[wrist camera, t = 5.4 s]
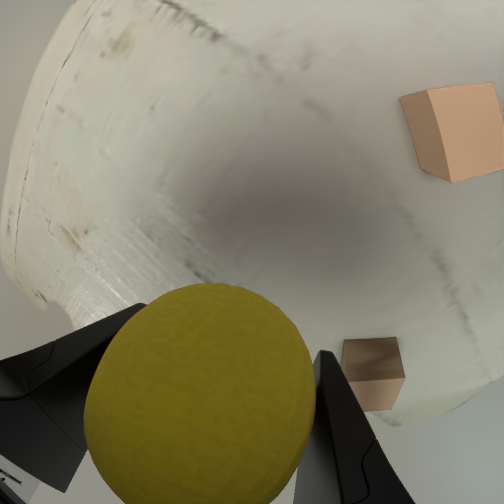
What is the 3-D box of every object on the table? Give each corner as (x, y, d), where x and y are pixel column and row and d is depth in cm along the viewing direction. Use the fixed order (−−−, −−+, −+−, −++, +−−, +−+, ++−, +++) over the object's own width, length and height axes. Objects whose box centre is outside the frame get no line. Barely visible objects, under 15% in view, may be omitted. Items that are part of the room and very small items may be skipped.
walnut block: (395, 336, 22) (405, 377, 17) (386, 370, 24) (391, 409, 19) (344, 339, 23) (345, 382, 19) (339, 373, 25) (339, 412, 21)
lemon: (251, 375, 11) (195, 541, 4) (150, 298, 11) (31, 455, 4) (353, 313, 9) (349, 564, 2) (230, 201, 8) (7, 461, 1)
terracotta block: (455, 88, 12) (492, 82, 8) (473, 154, 14) (511, 167, 9) (398, 97, 14) (426, 90, 9) (419, 167, 15) (451, 183, 11)
